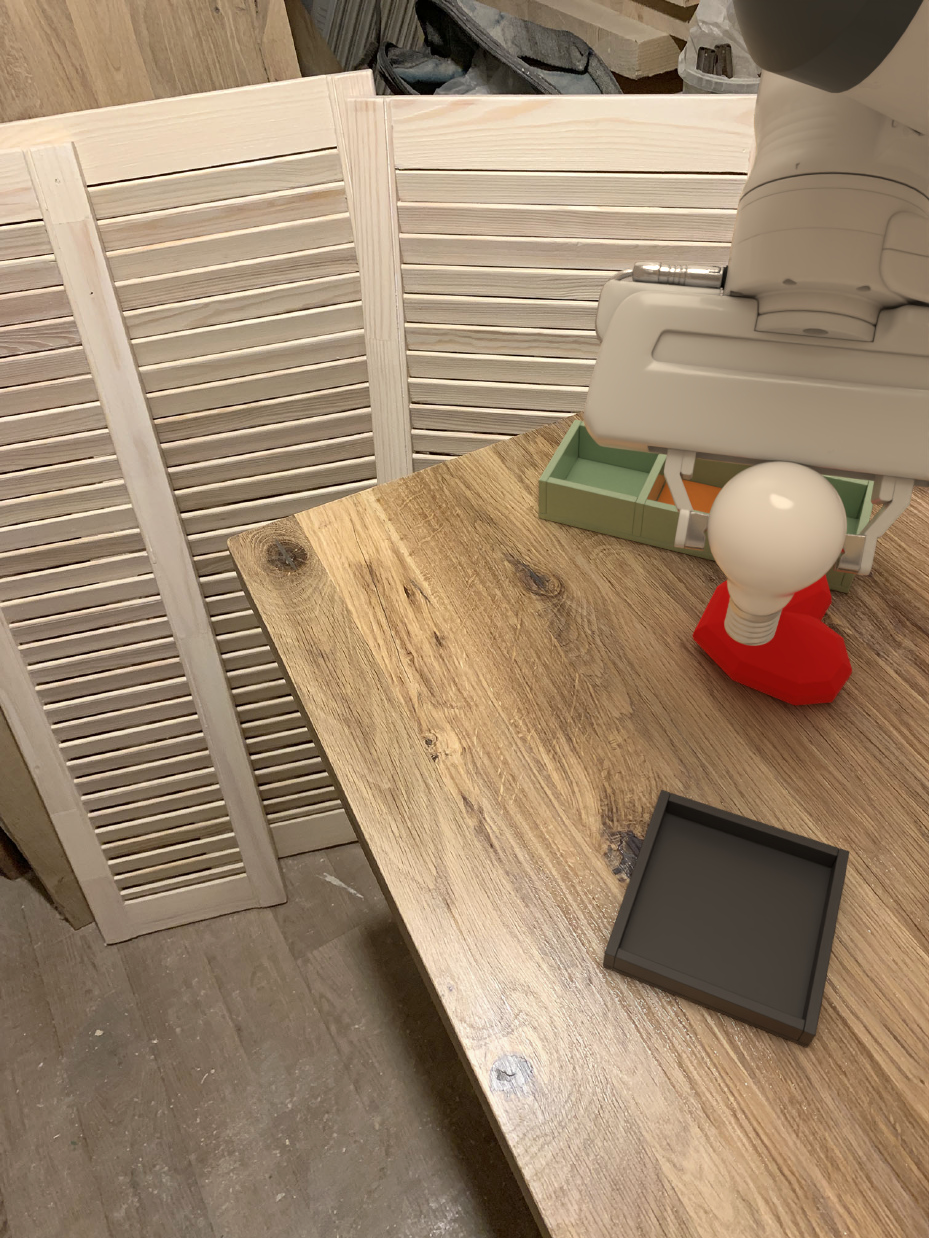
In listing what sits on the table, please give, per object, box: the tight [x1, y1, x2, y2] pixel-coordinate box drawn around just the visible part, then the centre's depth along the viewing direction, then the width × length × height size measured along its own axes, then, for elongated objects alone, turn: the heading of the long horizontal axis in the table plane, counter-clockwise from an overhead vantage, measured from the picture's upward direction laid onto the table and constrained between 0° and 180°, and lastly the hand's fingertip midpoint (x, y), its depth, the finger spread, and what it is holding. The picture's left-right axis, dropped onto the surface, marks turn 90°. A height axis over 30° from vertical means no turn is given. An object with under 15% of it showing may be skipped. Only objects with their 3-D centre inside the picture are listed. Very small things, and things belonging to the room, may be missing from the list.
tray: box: [602, 789, 850, 1048], centre depth 53 cm, size 11×11×2 cm
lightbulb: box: [707, 461, 847, 646], centre depth 46 cm, size 6×6×11 cm
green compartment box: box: [538, 419, 874, 594], centre depth 75 cm, size 25×9×4 cm, turn 66°
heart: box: [691, 574, 853, 706], centre depth 66 cm, size 12×4×10 cm
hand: (769, 561), depth 45 cm, fingers closed on lightbulb, 6 cm apart
